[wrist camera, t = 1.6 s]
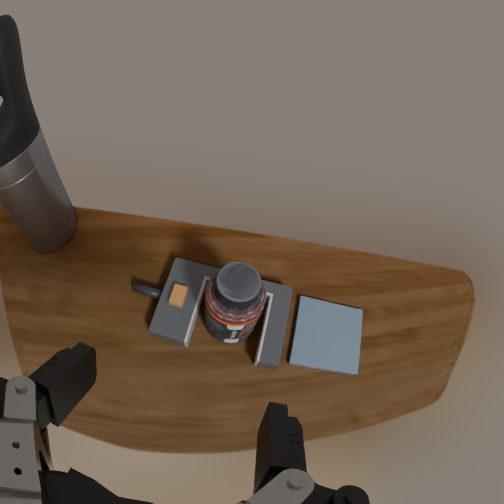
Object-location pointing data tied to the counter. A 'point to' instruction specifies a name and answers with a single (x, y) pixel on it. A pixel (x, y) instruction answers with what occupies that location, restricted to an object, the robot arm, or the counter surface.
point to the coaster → (326, 336)
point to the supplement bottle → (234, 302)
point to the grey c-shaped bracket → (189, 301)
